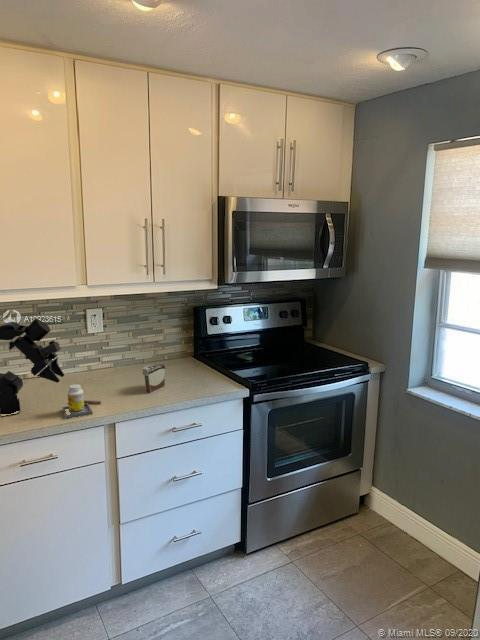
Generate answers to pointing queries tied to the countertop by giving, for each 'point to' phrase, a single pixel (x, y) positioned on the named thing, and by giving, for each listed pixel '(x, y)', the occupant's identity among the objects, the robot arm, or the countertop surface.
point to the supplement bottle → (75, 399)
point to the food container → (154, 377)
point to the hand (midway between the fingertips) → (61, 378)
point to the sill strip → (92, 402)
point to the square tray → (86, 412)
